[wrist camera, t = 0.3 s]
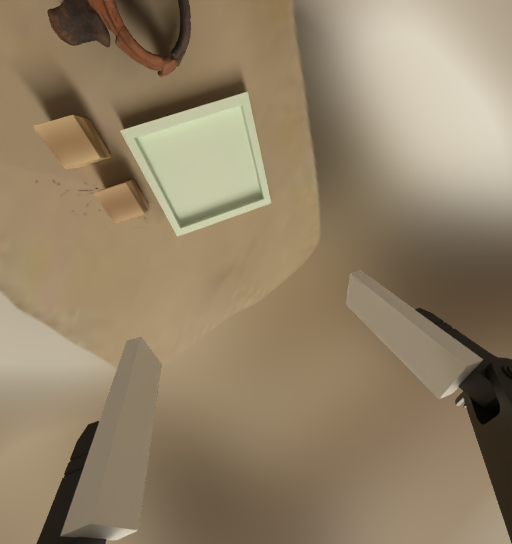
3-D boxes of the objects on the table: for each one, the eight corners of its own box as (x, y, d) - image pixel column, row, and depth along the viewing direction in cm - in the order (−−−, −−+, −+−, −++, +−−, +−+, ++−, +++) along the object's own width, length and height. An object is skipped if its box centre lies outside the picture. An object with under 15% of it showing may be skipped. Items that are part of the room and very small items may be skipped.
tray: (124, 131, 25) (119, 130, 23) (244, 95, 26) (247, 91, 24) (178, 232, 32) (177, 236, 31) (267, 200, 34) (271, 203, 32)
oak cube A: (55, 129, 23) (32, 126, 20) (89, 119, 23) (72, 114, 20) (81, 166, 25) (65, 169, 22) (112, 157, 26) (100, 158, 22)
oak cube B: (105, 188, 27) (93, 193, 24) (133, 178, 27) (125, 182, 24) (123, 215, 29) (115, 223, 26) (149, 206, 30) (144, 213, 26)
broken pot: (119, -109, 17) (154, -144, 13) (182, 47, 25) (216, 54, 21) (-4, -38, 16) (-5, -53, 12) (105, 101, 24) (126, 119, 20)
